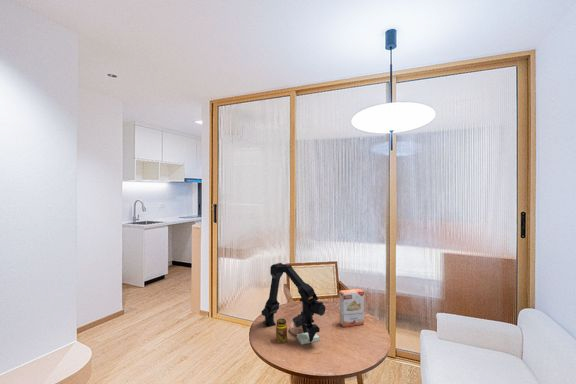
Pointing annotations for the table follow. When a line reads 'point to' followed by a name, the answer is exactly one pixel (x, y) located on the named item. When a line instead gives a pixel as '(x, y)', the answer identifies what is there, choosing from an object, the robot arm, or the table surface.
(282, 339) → the condiment
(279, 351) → the table surface
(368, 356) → the table surface
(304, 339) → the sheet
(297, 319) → the robot arm
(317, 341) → the mat
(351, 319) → the cracker box
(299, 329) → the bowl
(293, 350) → the table surface
